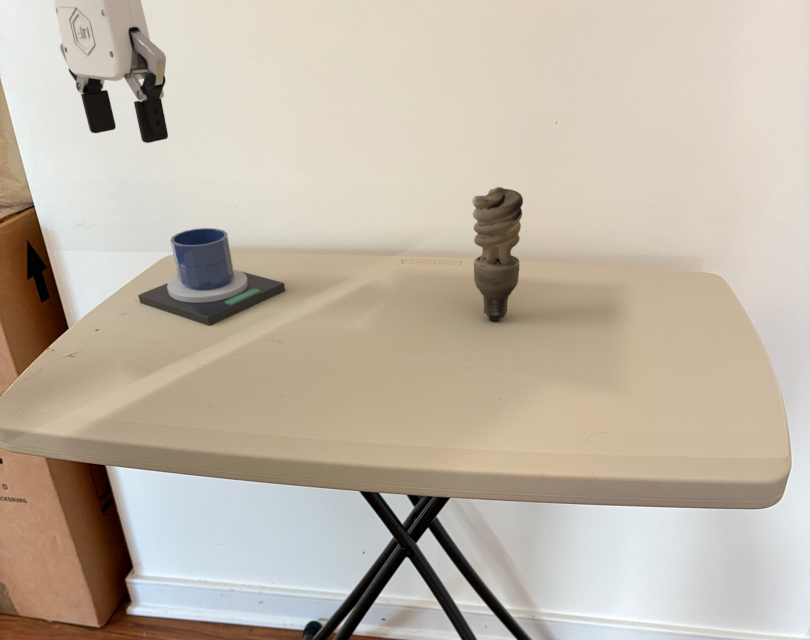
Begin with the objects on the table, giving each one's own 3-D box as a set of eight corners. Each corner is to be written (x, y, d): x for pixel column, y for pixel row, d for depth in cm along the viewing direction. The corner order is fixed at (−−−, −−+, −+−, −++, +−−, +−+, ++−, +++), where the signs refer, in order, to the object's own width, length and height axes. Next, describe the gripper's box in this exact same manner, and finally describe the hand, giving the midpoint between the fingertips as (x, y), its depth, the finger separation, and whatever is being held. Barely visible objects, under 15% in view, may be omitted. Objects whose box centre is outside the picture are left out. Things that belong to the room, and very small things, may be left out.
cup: (205, 295, 92) (196, 249, 89) (169, 284, 96) (159, 239, 92) (246, 278, 96) (238, 233, 93) (209, 268, 100) (201, 224, 96)
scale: (211, 336, 91) (206, 310, 89) (142, 313, 97) (136, 288, 95) (286, 301, 99) (283, 276, 97) (218, 281, 105) (214, 258, 103)
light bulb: (466, 326, 91) (469, 193, 81) (473, 308, 95) (476, 180, 85) (513, 329, 90) (521, 195, 80) (518, 311, 94) (527, 181, 84)
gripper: (6, -52, 78) (57, 133, 89) (106, -54, 70) (149, 151, 80) (70, -54, 83) (111, 122, 93) (171, -56, 74) (204, 138, 85)
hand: (128, 135), depth 87 cm, fingers open, 9 cm apart
